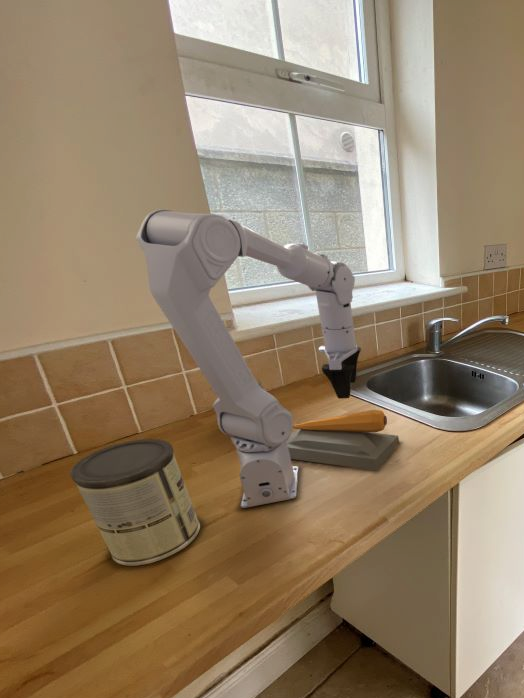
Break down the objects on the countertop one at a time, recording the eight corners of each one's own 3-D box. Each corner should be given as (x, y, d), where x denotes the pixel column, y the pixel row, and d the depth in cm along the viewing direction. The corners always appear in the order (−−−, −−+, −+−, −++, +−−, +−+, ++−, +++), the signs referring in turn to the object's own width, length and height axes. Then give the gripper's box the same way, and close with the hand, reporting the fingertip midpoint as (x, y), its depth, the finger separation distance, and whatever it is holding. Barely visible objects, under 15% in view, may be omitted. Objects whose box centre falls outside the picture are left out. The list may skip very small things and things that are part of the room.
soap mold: (376, 470, 83) (374, 454, 81) (276, 456, 85) (273, 440, 83) (399, 442, 92) (398, 427, 90) (308, 430, 94) (306, 416, 92)
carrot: (389, 430, 91) (387, 408, 90) (383, 432, 86) (381, 409, 86) (288, 437, 90) (286, 415, 89) (277, 440, 85) (274, 417, 85)
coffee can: (103, 541, 64) (62, 459, 58) (187, 507, 72) (159, 430, 65) (121, 579, 58) (78, 492, 52) (211, 538, 66) (183, 457, 60)
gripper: (323, 315, 91) (332, 376, 97) (305, 337, 79) (318, 406, 85) (359, 315, 93) (367, 375, 99) (348, 336, 80) (357, 404, 86)
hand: (347, 389), depth 92 cm, fingers open, 7 cm apart
